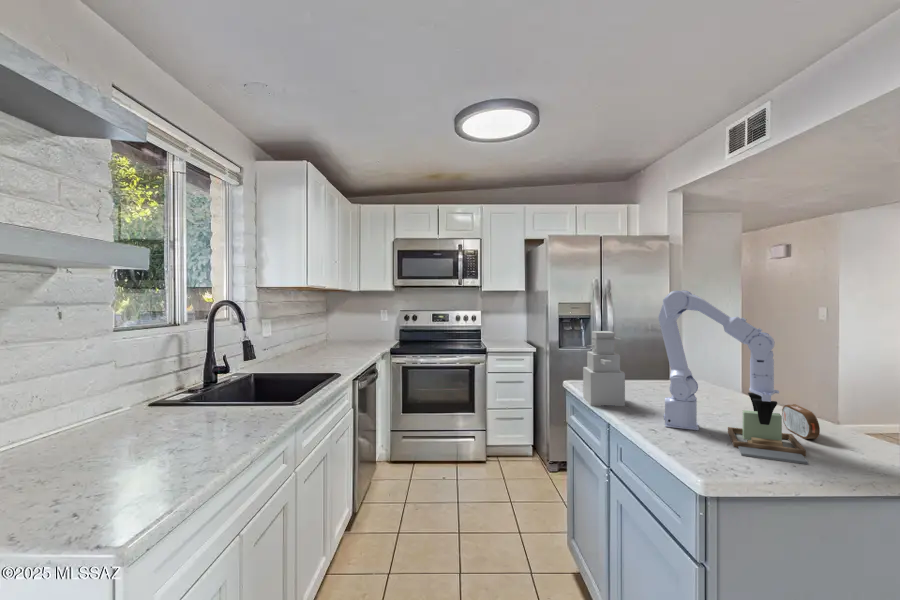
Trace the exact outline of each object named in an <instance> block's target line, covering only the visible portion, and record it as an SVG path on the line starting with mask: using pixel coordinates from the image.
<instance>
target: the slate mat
mask: <svg viewBox="0 0 900 600" xmlns="http://www.w3.org/2000/svg"><path fill="white" fill-rule="evenodd" d="M737 449H738V451H739V453H740V455H741V456H743V457H751V458H758V459H766V460H770V461H771V460H773V461H781V462H788V463H795V464H803V465H809V461H808V460H807V459H806V458H805V456H803V455H802V454H797V453H789V452H781V451H773V450H765V449H757V448H749V447H741V446H738V448H737Z"/></svg>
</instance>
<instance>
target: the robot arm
mask: <svg viewBox="0 0 900 600" xmlns="http://www.w3.org/2000/svg"><path fill="white" fill-rule="evenodd" d="M659 311H660V312H659V314H658V317H657V318H658V322H659V327H660V331H661V335H662V339H663V342H664V347H665V348H664V349H665V351H666V355H667V360H668V364H669V367H670V374H669V380H670V385H669V392H670V394H671V397H664V413H663V420H664V427H666V428H674V429H681V430H682V429H684V430H691V431H693V430H694V431H699V429H700V428H699V423H698V421H697V415H698V414H697V412H698V411H697V409H698V407H697V405H698V403H697V402H698V401H697V397H696V395H695V394H696V393H697V391H698V390H699V384H698V382H697V380H696V379H695V378H694V376H693V373H692V370H690V369H689V367H688V362H687V358H686V353H685V349H684V346H683V342H682V338H681V333H680V330H679V325H678V322H677V320H678V319H679V318H680V317H681V316H682V315H683V313H684V312H686V311H693V312H694V311H696V312H700V313H702V314H703V315H705V316H707V317H709V318H710V319H711V320H712V321H715V322H716V323H718V324H720V325H721V326H722V327H723V331H724V333H726V334H727V335H729V336H731V337H732V338H734V339H735V340H736V341H739V342H740V343H742V344H743V345H747V346H748V349H749V350H750V358H749V388H748V391H749V392H747V395H748V396H749V399H750V400H751V405H752V408H753V411H757V412H758V418H759V422H760V424H764V425H769V424H770V420H771V416H772V413H774V410H775V408H776V407H777V406H778V401H776V400H775V401H774V400H772V396H774V394H780V391H779V390H778V389H775V367H774V366H775V361H774V351H773V349H774V347H775V339H774V337H773V336H772V335H770V333H767V332H763V329H761V328H760V327H759V328H757V327H755V326H754V325H751V324H750V323H748V322H747V319H746V318H744V317H739V316H732V317H731V316H729V315H727V314H726V313H725V312H723V311H721V310H720V309H718V308H717V307H716V306H714V305H713V304H712V303H710V302H709V301H707V300H705V298H702V297H700V296H698V295H696V294H695V293H694V294H693V293H692V292H691V291H688V290H684V289H683V290H672V291H670V292H669V293H667V295H665V297H664V298H663V299H662V306H661V308H660V310H659Z"/></svg>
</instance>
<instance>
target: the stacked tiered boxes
mask: <svg viewBox="0 0 900 600" xmlns="http://www.w3.org/2000/svg"><path fill="white" fill-rule="evenodd" d="M615 335H616V333H615V332H614V331H610V330H603V331H602V330H599V331H598V330H592V331H591V344H590V345H588V347H591V351H587V352H586V353H587V354H586V355H587V357H586V359H587V361H586V363H587V366H583V367H582V380H583V381H582V383H583V384H582V387H583V388H582V390H583V391H582V393H583V394H582V395H583V396H582V397H583V399H584V401H586V403H588V405H589V406H591V407H602V406H601V405H615V406H614V407H626V373H625V372H624V371H623V370H621V355H620V354H619V353H617V352H616V350H615V349H616V344H615V342H616V340H621V338H619V337H618V336H617V337H616V336H615Z"/></svg>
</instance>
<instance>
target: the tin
mask: <svg viewBox="0 0 900 600" xmlns="http://www.w3.org/2000/svg"><path fill="white" fill-rule="evenodd" d="M781 411H782V412H781V413H782V414H781V415H782V423H783V424H784V426H785V428H786V429H787V430H788V431H789V430H790V431H789V432H791V433H793V434H795V435H796V434H797V435H796V436H798V437H800V438H801V439H804V440H817V439H818V438H819V436H820V432H821V429H820V423H819V420H818V418H817V416H816V414H815V413H813V411H811V410H810V409H808V408H805V407H802V406H801V405H798V404H796V403H793V404H785V405H784V406H783V407H782V408H781Z"/></svg>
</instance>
